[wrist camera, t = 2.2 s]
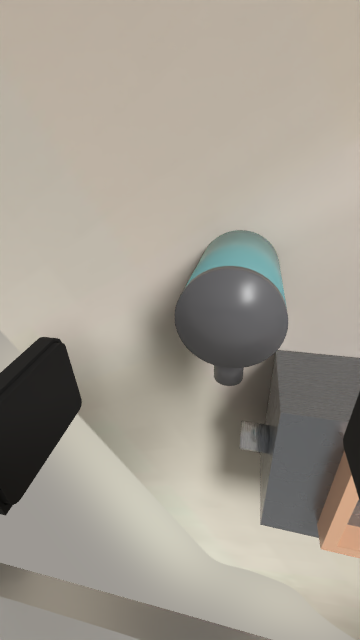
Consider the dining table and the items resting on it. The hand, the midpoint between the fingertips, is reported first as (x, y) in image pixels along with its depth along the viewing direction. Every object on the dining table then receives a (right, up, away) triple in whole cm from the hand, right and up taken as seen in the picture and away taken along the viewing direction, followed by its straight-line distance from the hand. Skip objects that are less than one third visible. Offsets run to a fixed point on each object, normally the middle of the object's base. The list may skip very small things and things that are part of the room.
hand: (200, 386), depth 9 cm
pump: (+3, +5, +10) cm, 11 cm away
